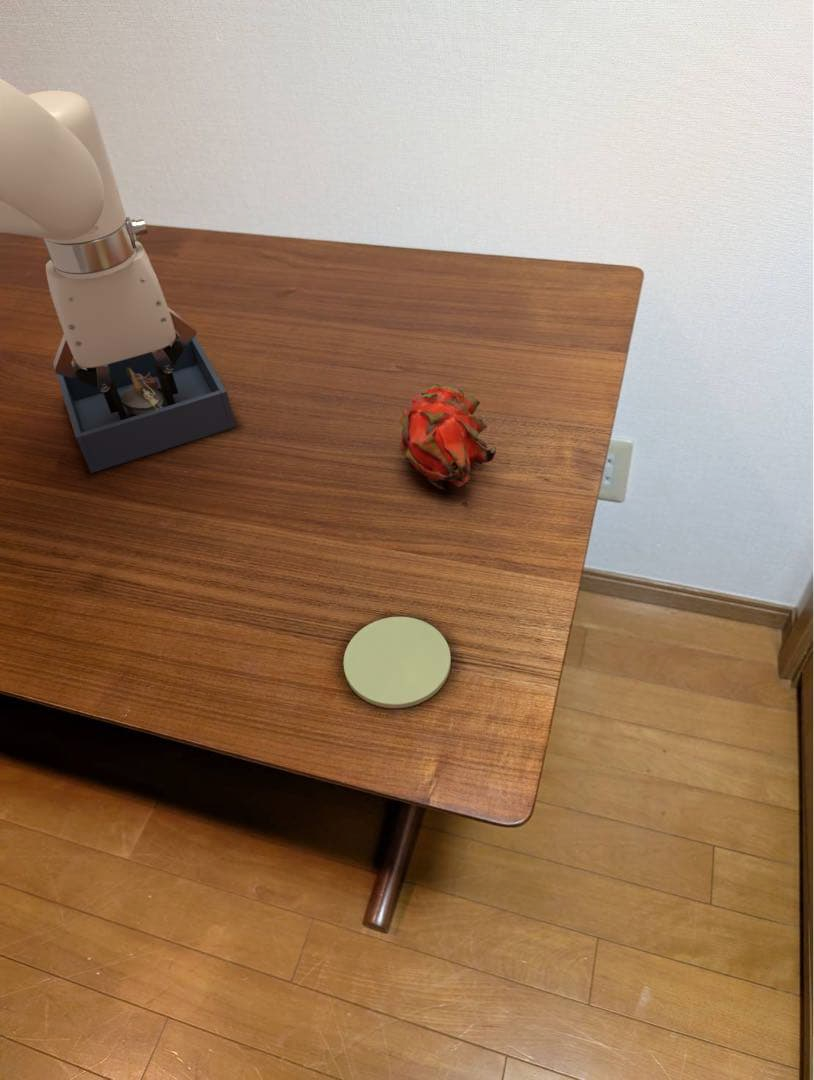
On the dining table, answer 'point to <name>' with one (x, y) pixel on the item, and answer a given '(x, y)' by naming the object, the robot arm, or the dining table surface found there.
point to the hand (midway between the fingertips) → (145, 406)
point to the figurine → (142, 394)
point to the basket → (141, 435)
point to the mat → (397, 662)
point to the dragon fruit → (444, 435)
